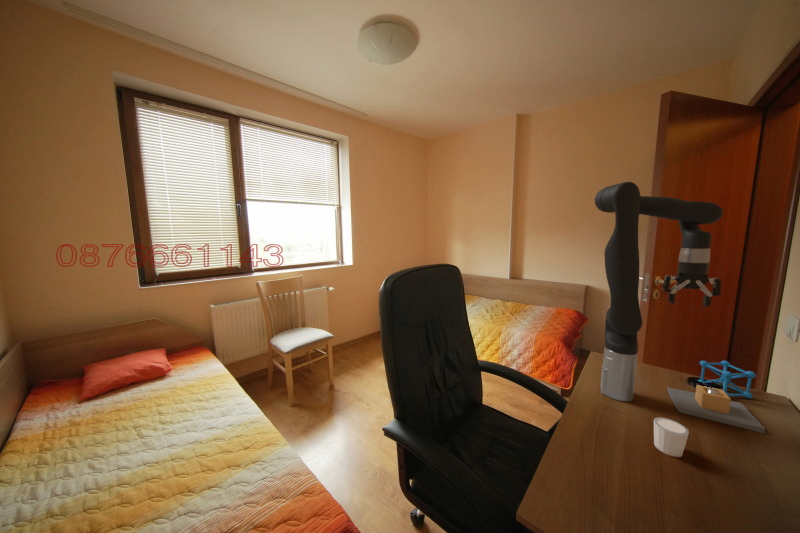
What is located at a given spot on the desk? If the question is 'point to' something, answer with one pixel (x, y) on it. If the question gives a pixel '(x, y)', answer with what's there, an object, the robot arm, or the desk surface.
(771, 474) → the desk surface
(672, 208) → the robot arm
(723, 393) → the ochre collar
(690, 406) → the post board
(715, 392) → the steel post
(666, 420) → the shot glass
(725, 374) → the molecular structure
